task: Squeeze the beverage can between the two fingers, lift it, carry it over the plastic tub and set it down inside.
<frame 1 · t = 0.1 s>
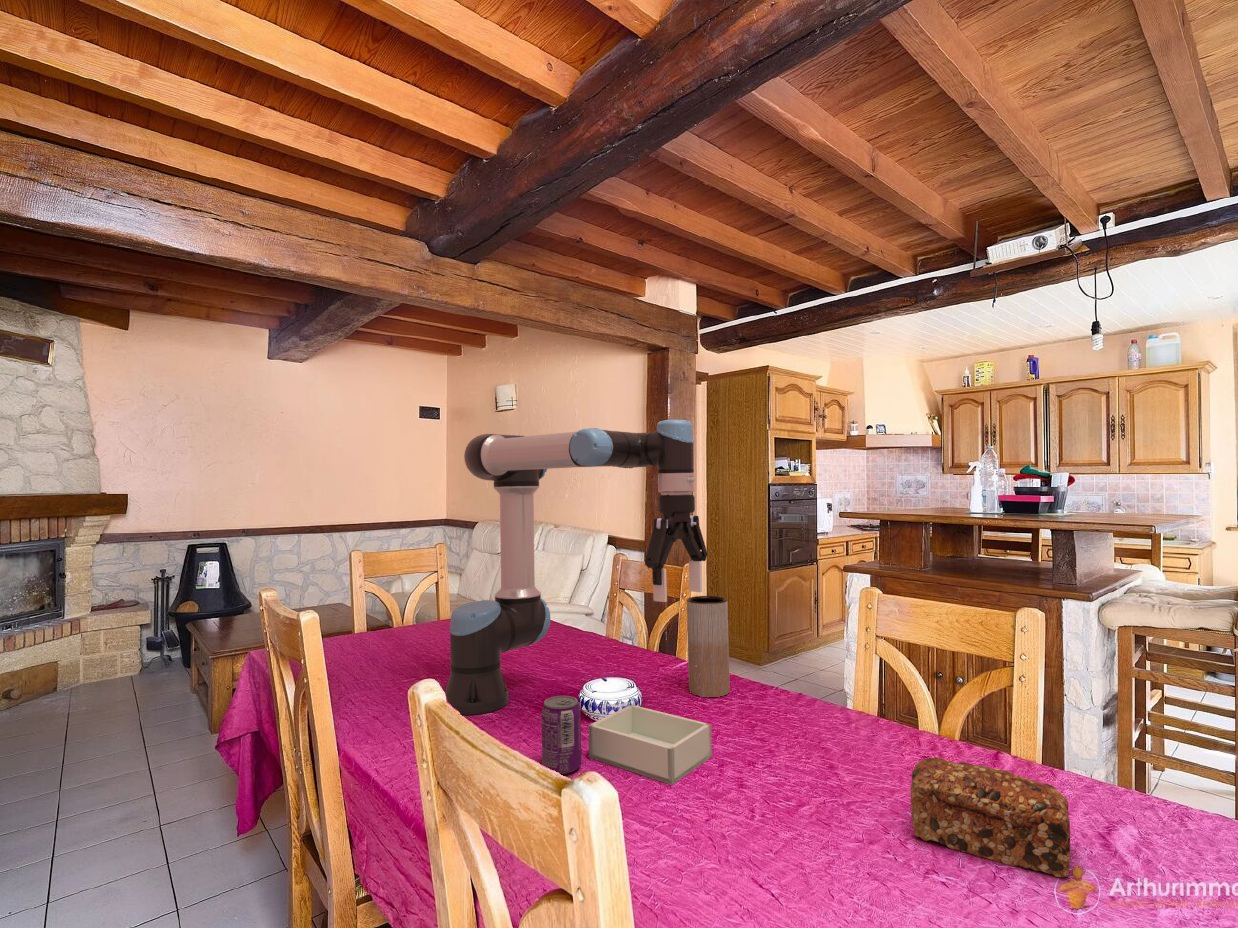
hand: (678, 596, 129), 28 cm above the table, fingers open, 13 cm apart
planter: (709, 692, 153), on the table
tub: (650, 757, 116), on the table
beverage can: (561, 769, 113), on the table
bread: (989, 844, 87), on the table
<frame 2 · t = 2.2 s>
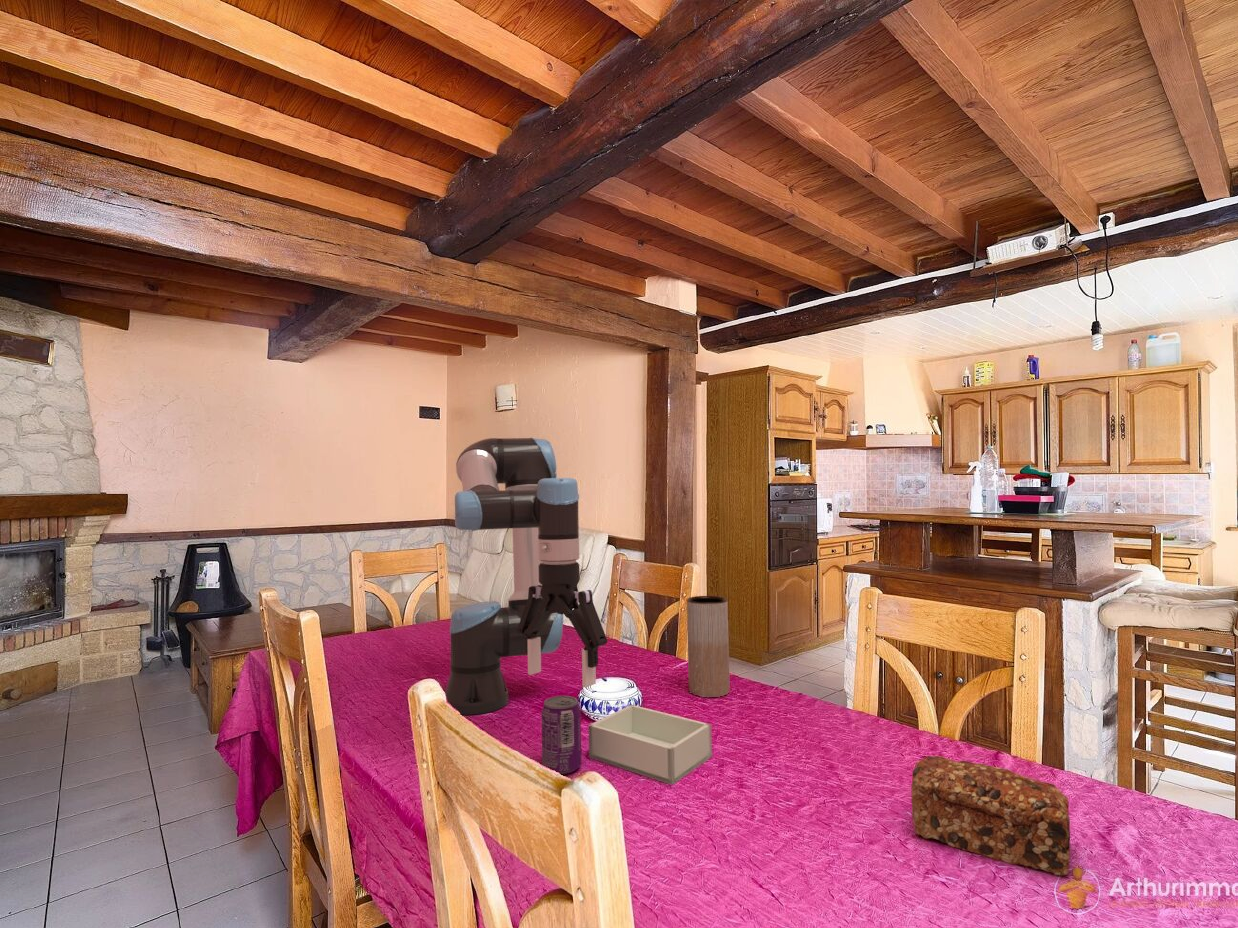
hand: (560, 679, 113), 16 cm above the table, fingers open, 13 cm apart
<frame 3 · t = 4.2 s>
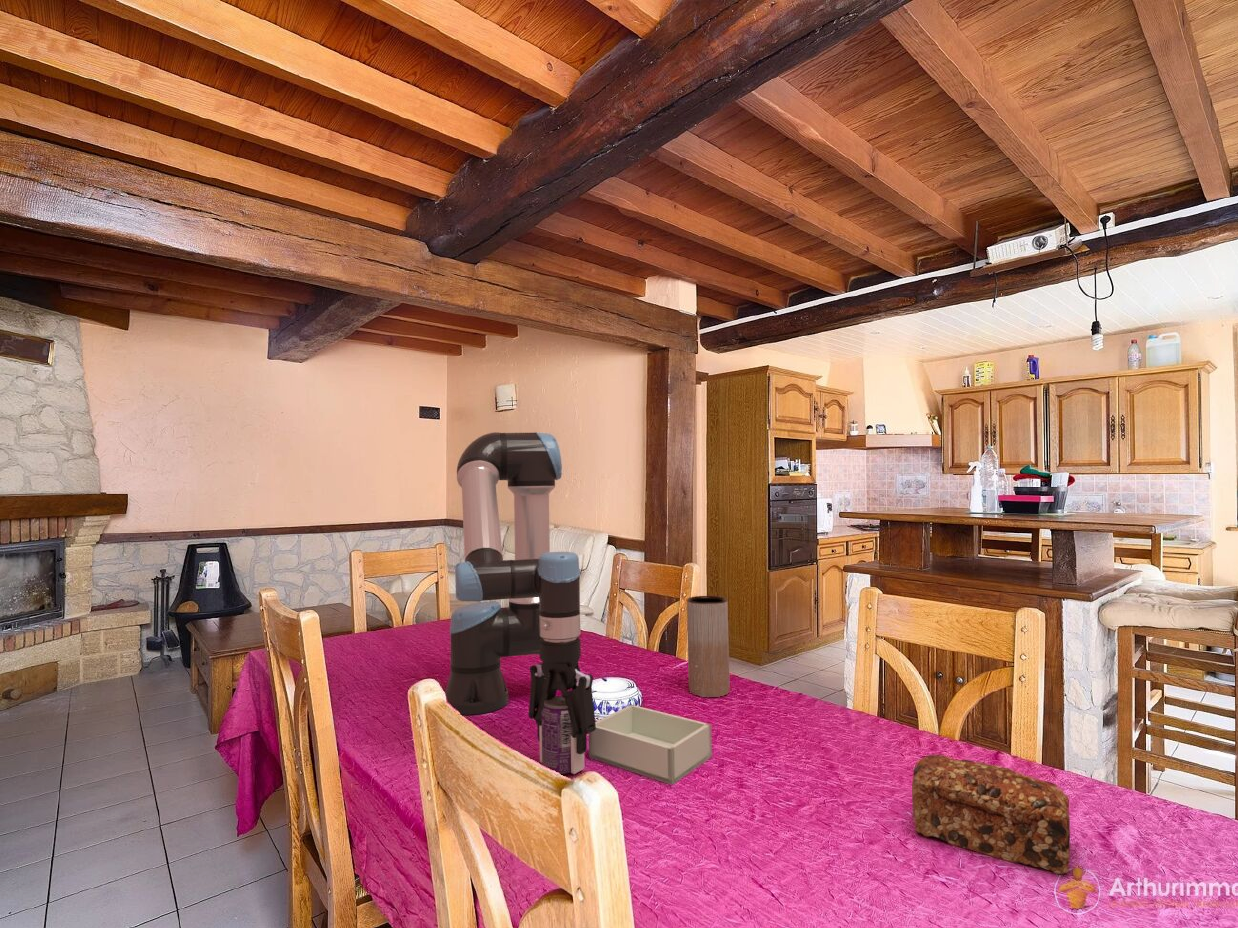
hand: (561, 764, 113), 1 cm above the table, fingers closed on beverage can, 7 cm apart
beverage can: (561, 769, 113), on the table, touching gripper
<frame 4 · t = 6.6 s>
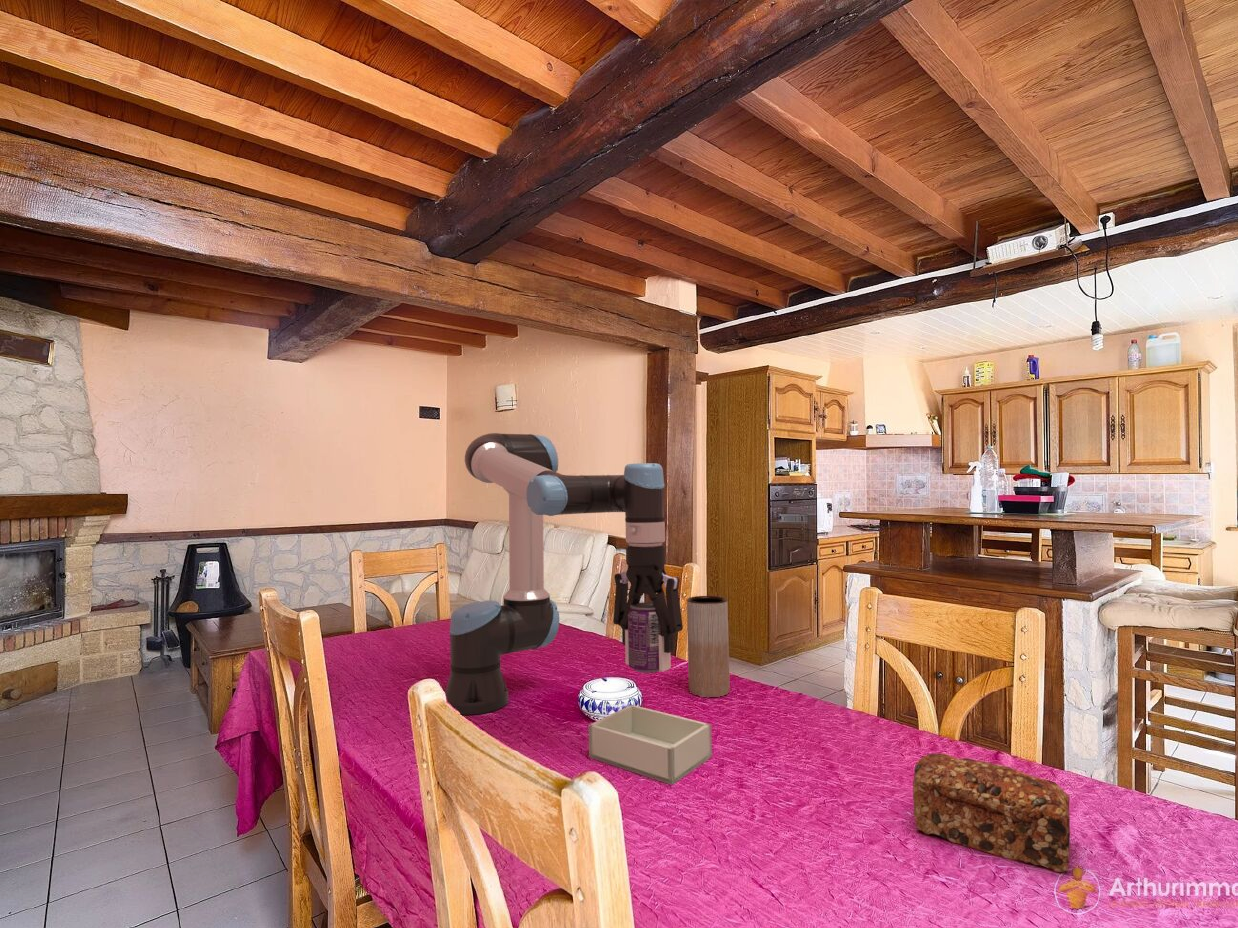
hand: (647, 665, 117), 17 cm above the table, fingers closed on beverage can, 7 cm apart
beverage can: (647, 670, 117), point 16 cm above the table, touching gripper
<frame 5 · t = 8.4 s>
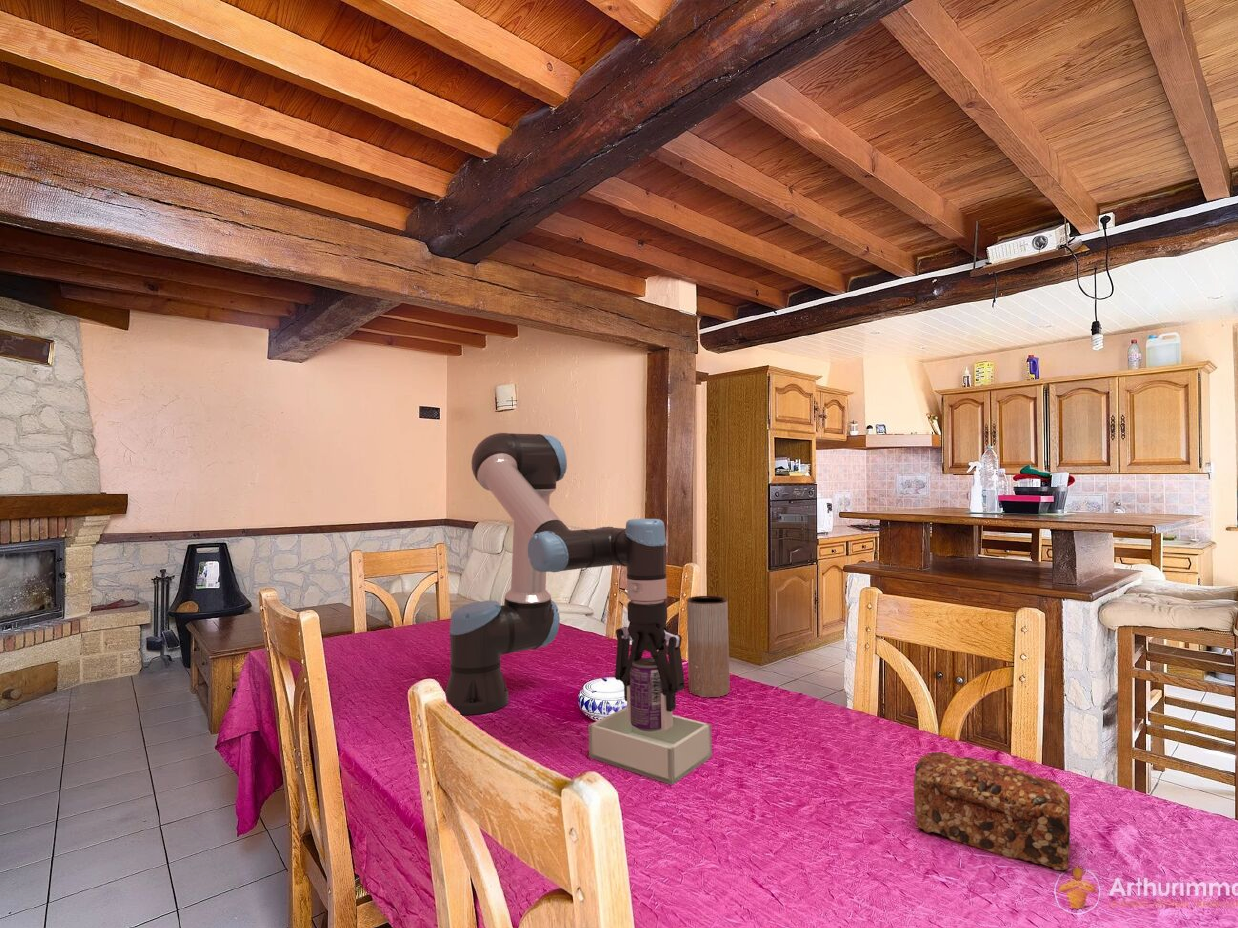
hand: (649, 723, 117), 6 cm above the table, fingers closed on beverage can, 7 cm apart
beverage can: (649, 727, 117), point 6 cm above the table, touching gripper
when the fingers open (3 cm above the table, at t = 9.4 s): beverage can drops 2 cm, resting on tub.
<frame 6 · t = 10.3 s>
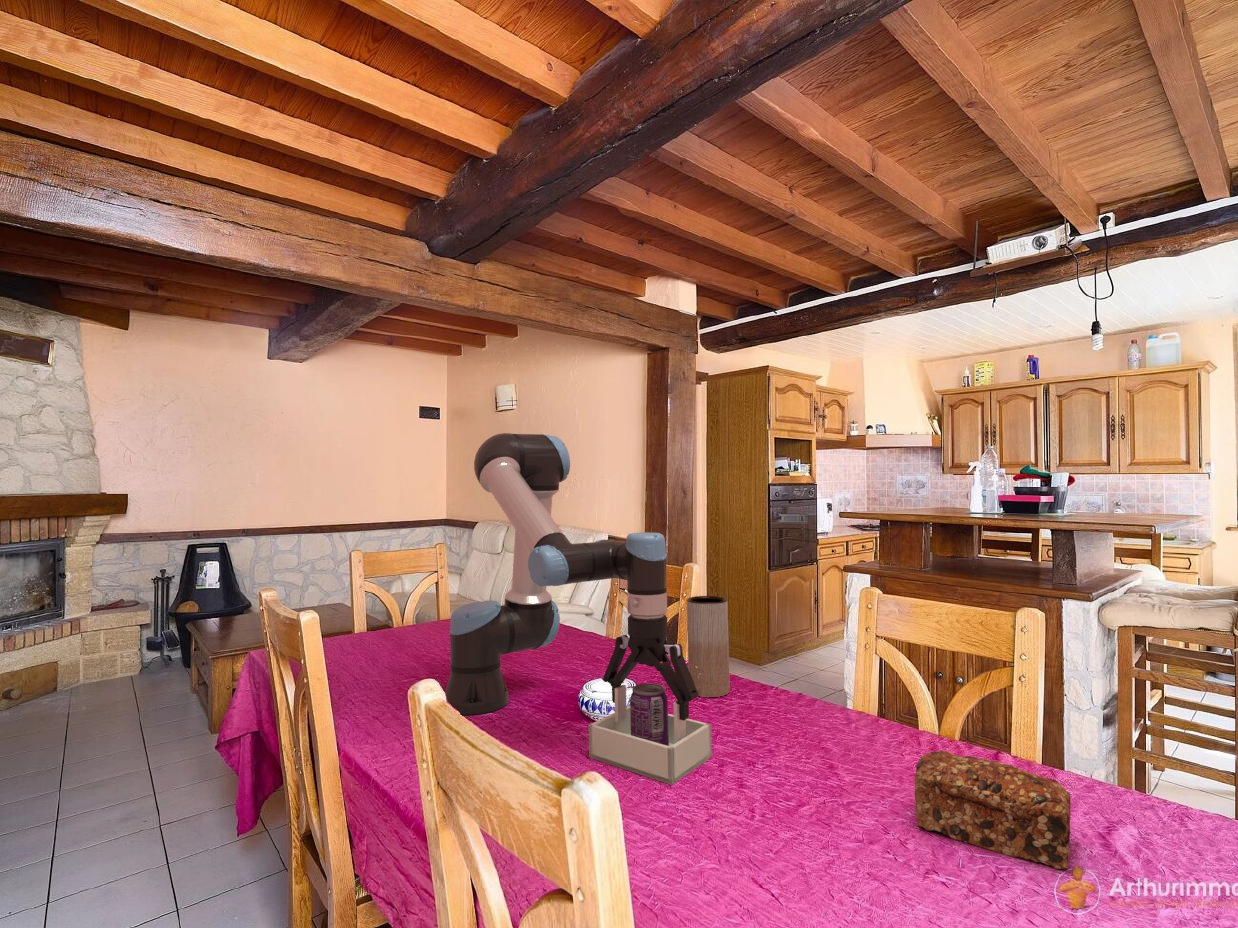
hand: (649, 728, 117), 5 cm above the table, fingers open, 13 cm apart
beverage can: (650, 753, 116), point 1 cm above the table, touching tub
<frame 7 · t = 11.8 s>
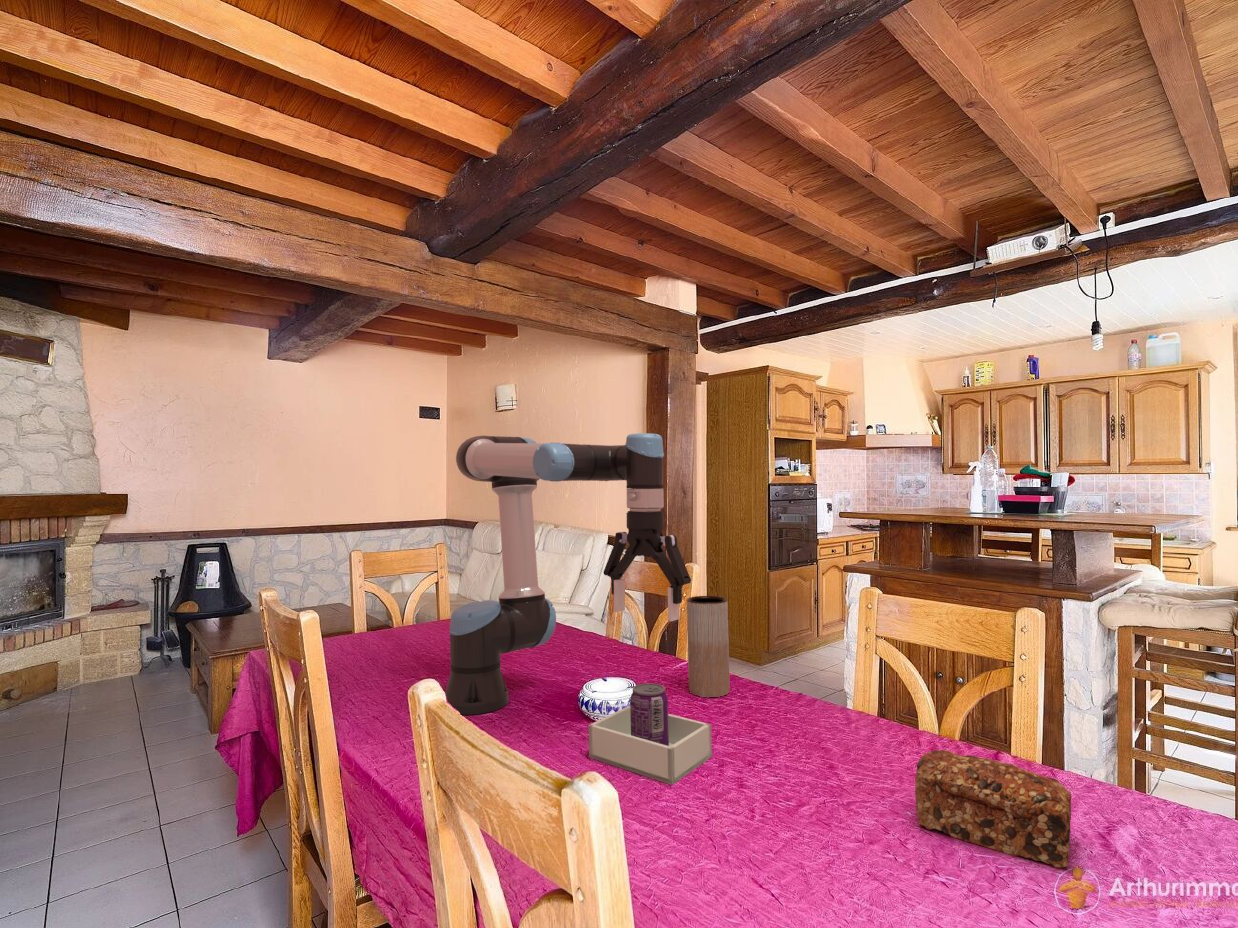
hand: (645, 615, 125), 25 cm above the table, fingers open, 13 cm apart
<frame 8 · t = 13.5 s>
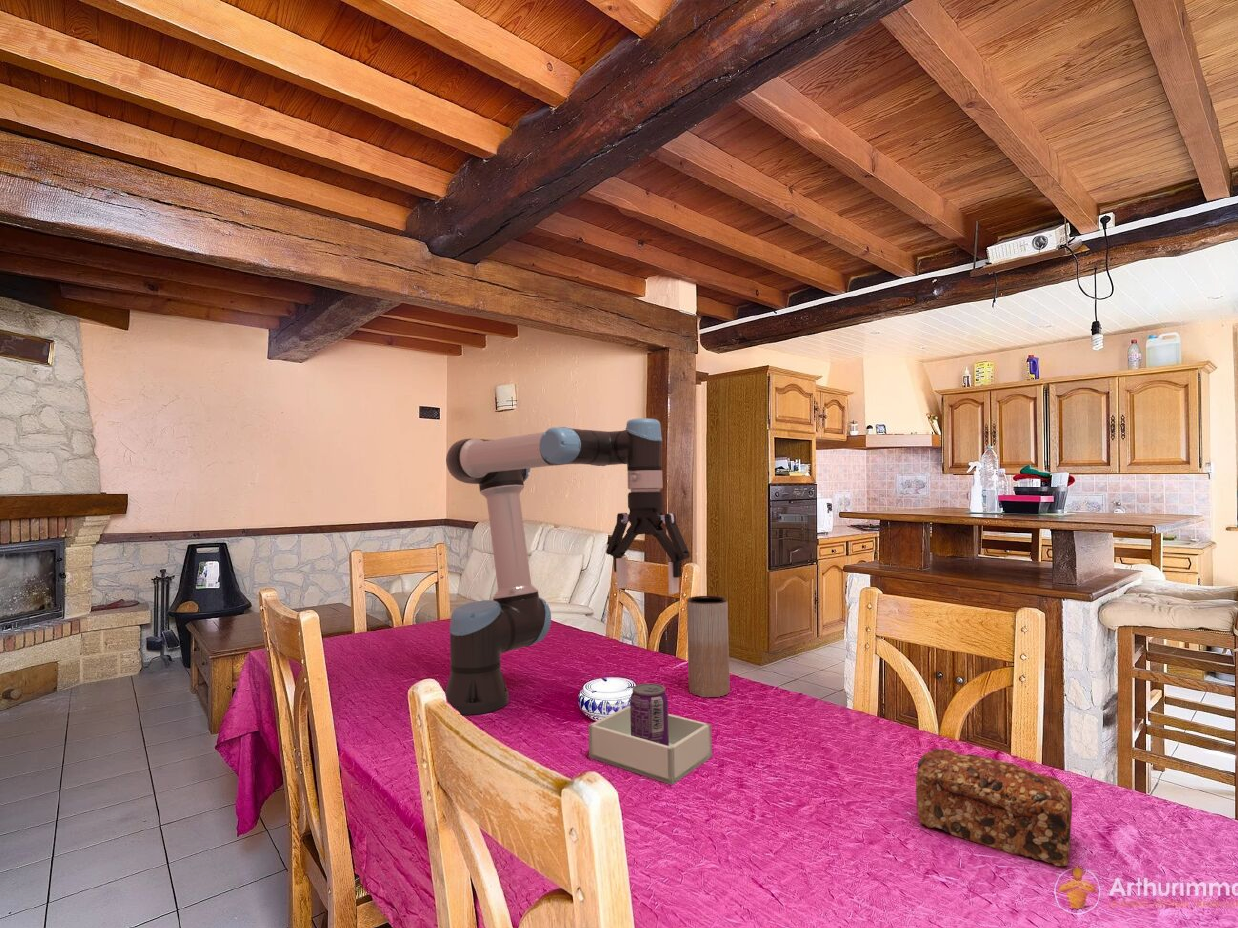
hand: (647, 590, 132), 29 cm above the table, fingers open, 13 cm apart
at the end: beverage can inside the target area on the tub (0.0 cm from its centre), point 0.6 cm above the tub's base; beverage can tilted 0°; the gripper is holding nothing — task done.
